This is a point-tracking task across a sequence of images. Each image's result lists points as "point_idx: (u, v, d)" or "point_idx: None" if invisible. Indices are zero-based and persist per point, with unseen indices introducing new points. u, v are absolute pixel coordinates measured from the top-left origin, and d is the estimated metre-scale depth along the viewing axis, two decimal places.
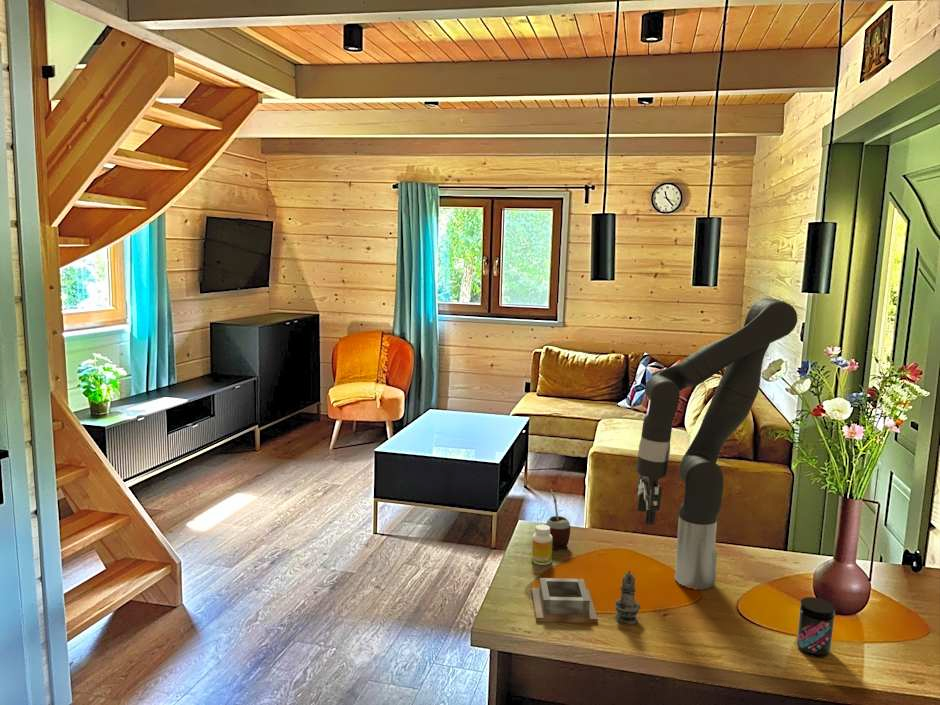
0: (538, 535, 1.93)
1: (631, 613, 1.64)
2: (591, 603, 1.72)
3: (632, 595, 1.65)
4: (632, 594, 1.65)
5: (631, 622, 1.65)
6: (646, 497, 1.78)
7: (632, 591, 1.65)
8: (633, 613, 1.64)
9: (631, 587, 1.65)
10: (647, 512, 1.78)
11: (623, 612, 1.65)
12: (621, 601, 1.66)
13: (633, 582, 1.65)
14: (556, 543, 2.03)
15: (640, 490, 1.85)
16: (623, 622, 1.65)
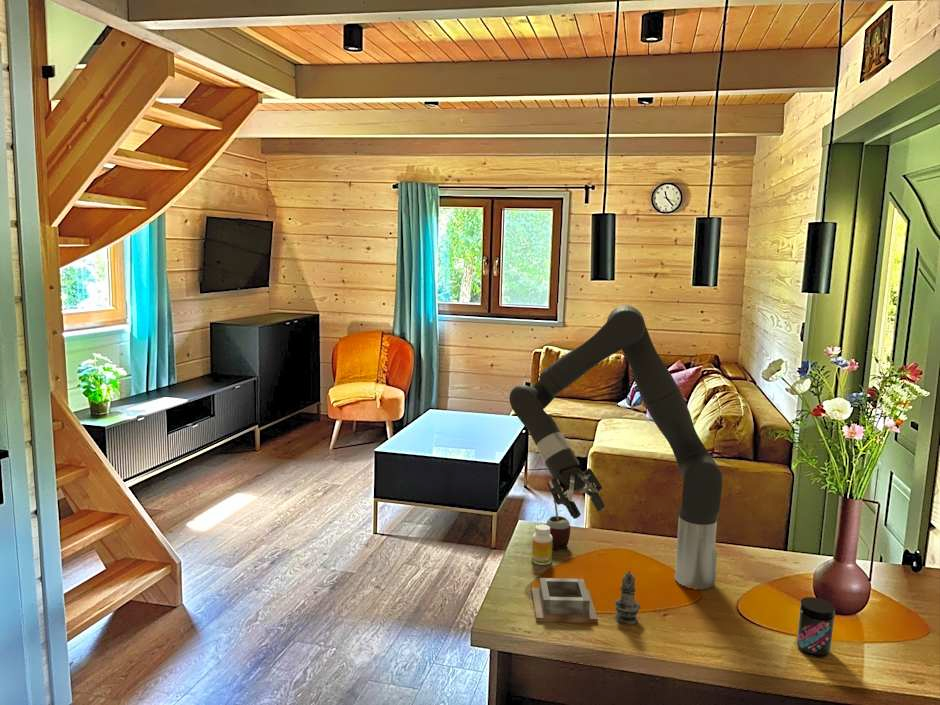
0: (538, 535, 1.93)
1: (631, 613, 1.64)
2: (591, 603, 1.72)
3: (632, 595, 1.65)
4: (632, 594, 1.65)
5: (631, 622, 1.65)
6: None
7: (632, 591, 1.65)
8: (633, 613, 1.64)
9: (631, 587, 1.65)
10: None
11: (623, 612, 1.65)
12: (621, 601, 1.66)
13: (633, 582, 1.65)
14: (556, 543, 2.03)
15: (582, 491, 1.78)
16: (623, 622, 1.65)
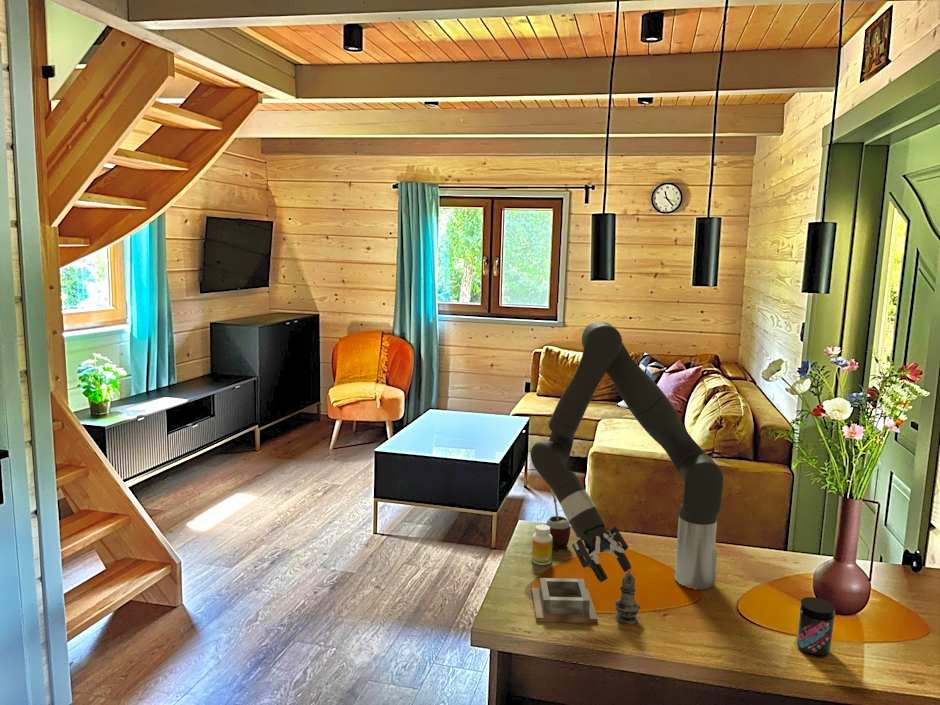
0: (538, 535, 1.93)
1: (631, 613, 1.64)
2: (591, 603, 1.72)
3: (632, 595, 1.65)
4: (632, 594, 1.65)
5: (631, 622, 1.65)
6: None
7: (632, 591, 1.65)
8: (633, 613, 1.64)
9: (631, 587, 1.65)
10: None
11: (623, 612, 1.65)
12: (621, 601, 1.66)
13: (633, 582, 1.65)
14: (556, 543, 2.03)
15: (608, 551, 1.74)
16: (623, 622, 1.65)
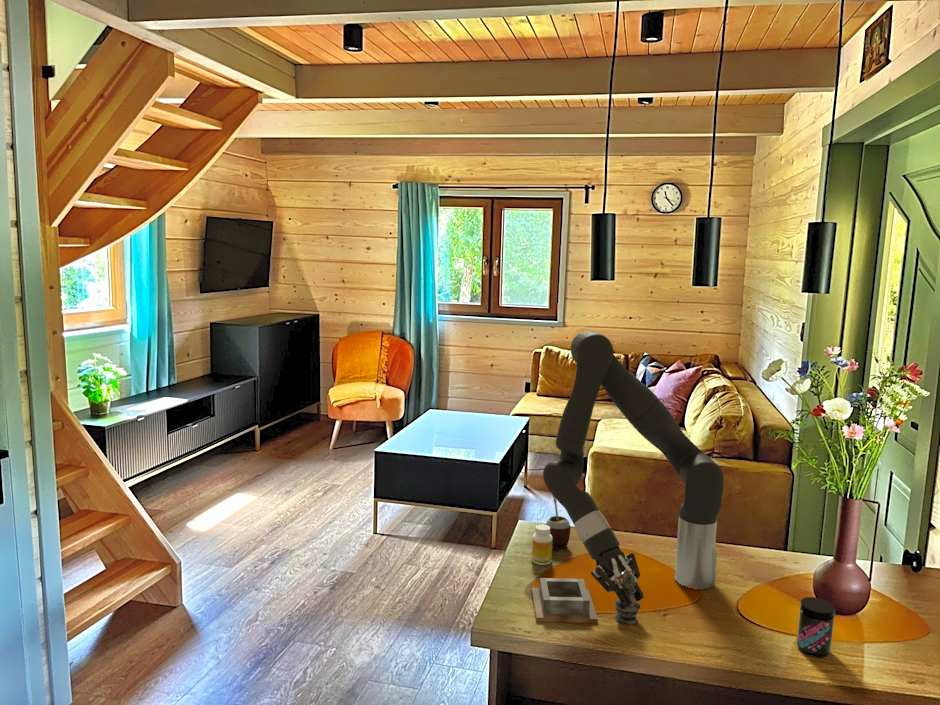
0: (538, 535, 1.93)
1: (631, 613, 1.64)
2: (591, 603, 1.72)
3: (632, 595, 1.65)
4: (632, 594, 1.65)
5: (631, 622, 1.65)
6: None
7: (632, 591, 1.65)
8: (633, 613, 1.64)
9: (631, 587, 1.65)
10: None
11: (623, 612, 1.65)
12: None
13: (633, 582, 1.65)
14: (556, 543, 2.03)
15: (620, 576, 1.69)
16: (623, 622, 1.65)
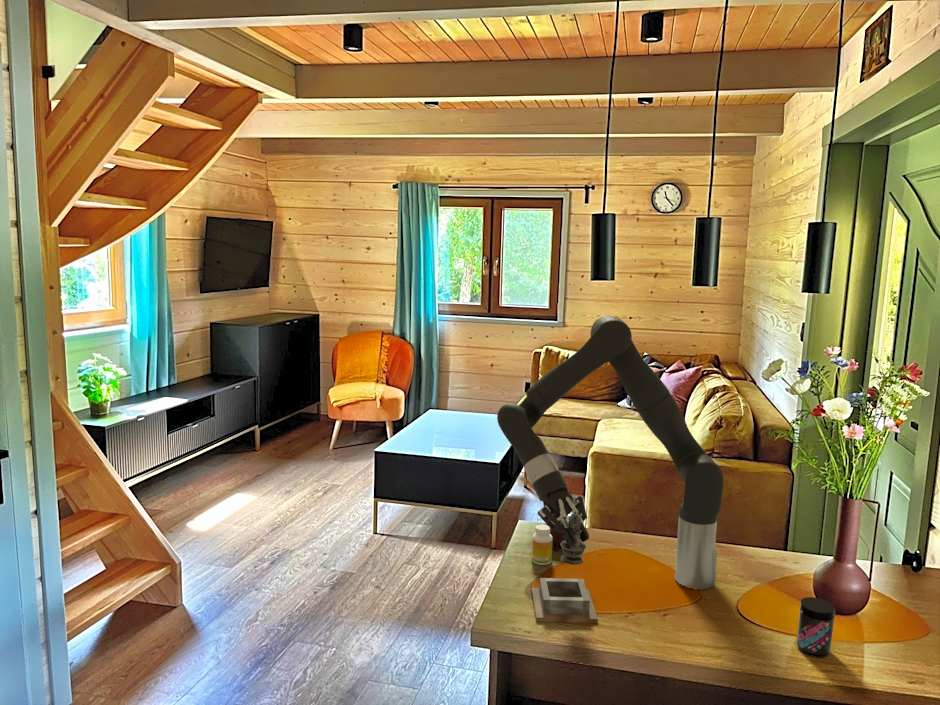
0: (538, 535, 1.93)
1: (576, 553, 1.67)
2: (591, 603, 1.72)
3: (577, 535, 1.67)
4: (577, 534, 1.67)
5: (576, 562, 1.67)
6: None
7: (578, 531, 1.67)
8: (578, 553, 1.67)
9: (577, 527, 1.67)
10: None
11: (568, 551, 1.67)
12: None
13: (579, 522, 1.67)
14: (556, 543, 2.03)
15: (567, 518, 1.72)
16: (568, 562, 1.67)
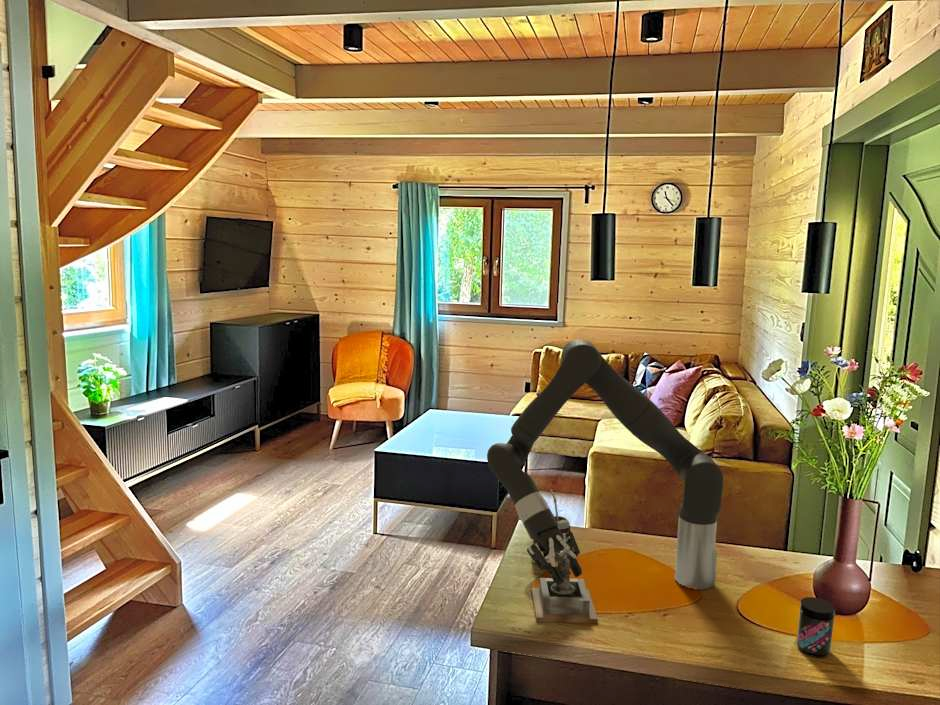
0: None
1: (566, 596, 1.69)
2: (591, 603, 1.72)
3: (567, 578, 1.70)
4: (567, 577, 1.70)
5: None
6: None
7: (567, 574, 1.70)
8: (568, 596, 1.69)
9: (566, 570, 1.70)
10: None
11: (558, 595, 1.70)
12: None
13: (568, 565, 1.70)
14: None
15: (560, 555, 1.74)
16: None
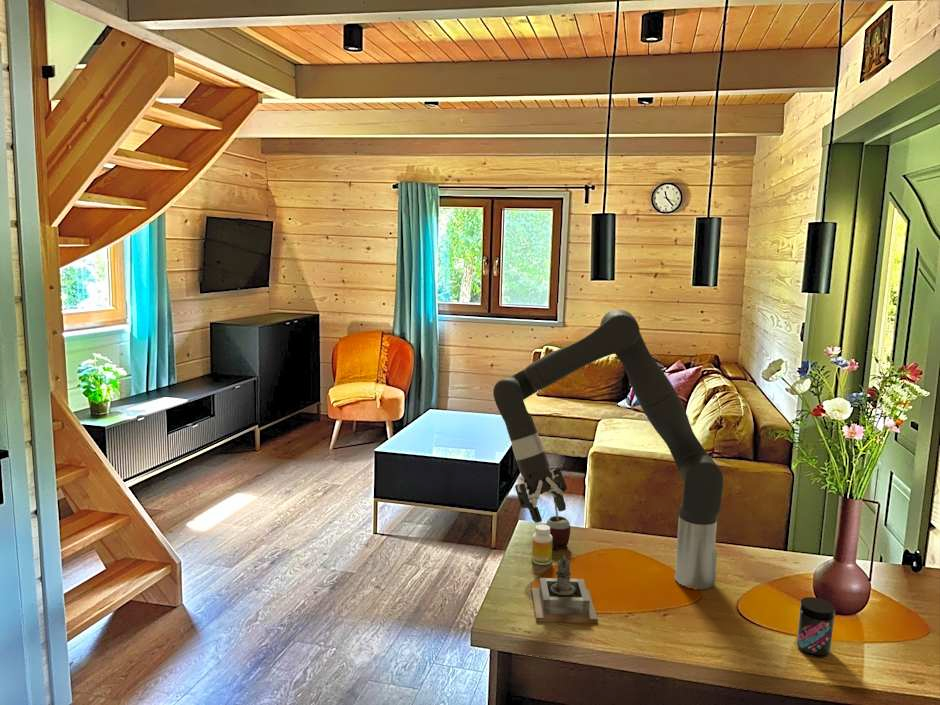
0: (538, 535, 1.93)
1: (566, 596, 1.69)
2: (591, 603, 1.72)
3: (567, 579, 1.70)
4: (567, 578, 1.70)
5: None
6: (527, 496, 1.80)
7: (567, 575, 1.70)
8: (568, 596, 1.69)
9: (566, 571, 1.69)
10: None
11: (558, 595, 1.69)
12: (557, 585, 1.71)
13: (568, 566, 1.70)
14: (556, 543, 2.03)
15: (547, 490, 1.84)
16: None
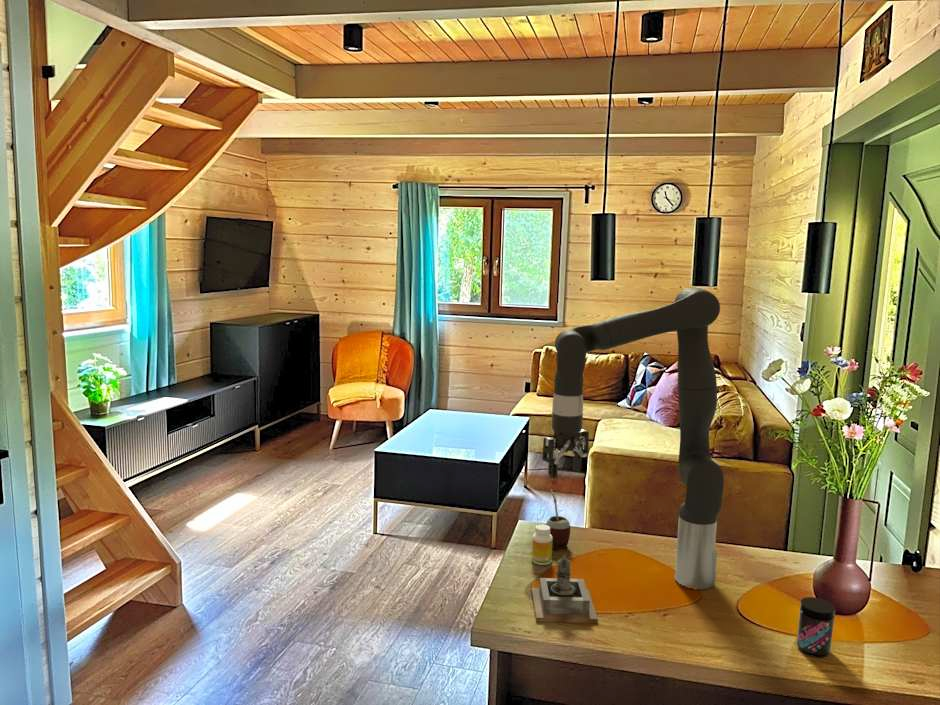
0: (538, 535, 1.93)
1: (566, 596, 1.69)
2: (591, 603, 1.72)
3: (567, 579, 1.70)
4: (567, 578, 1.70)
5: None
6: None
7: (567, 575, 1.70)
8: (568, 596, 1.69)
9: (566, 571, 1.70)
10: None
11: (558, 595, 1.69)
12: (557, 585, 1.71)
13: (568, 566, 1.70)
14: (556, 543, 2.03)
15: None
16: None
